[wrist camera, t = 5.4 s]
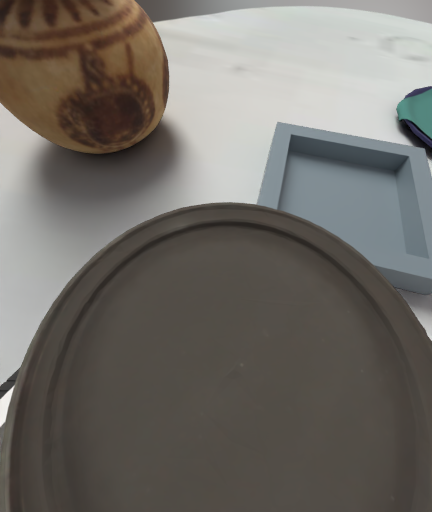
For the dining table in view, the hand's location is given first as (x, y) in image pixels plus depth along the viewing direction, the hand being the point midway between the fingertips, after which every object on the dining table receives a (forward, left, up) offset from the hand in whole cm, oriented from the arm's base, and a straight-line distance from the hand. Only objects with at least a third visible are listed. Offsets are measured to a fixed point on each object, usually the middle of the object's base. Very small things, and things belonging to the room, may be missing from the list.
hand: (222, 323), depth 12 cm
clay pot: (-23, +23, -7) cm, 33 cm away
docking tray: (+9, +18, -7) cm, 21 cm away
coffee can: (0, -2, -7) cm, 7 cm away
